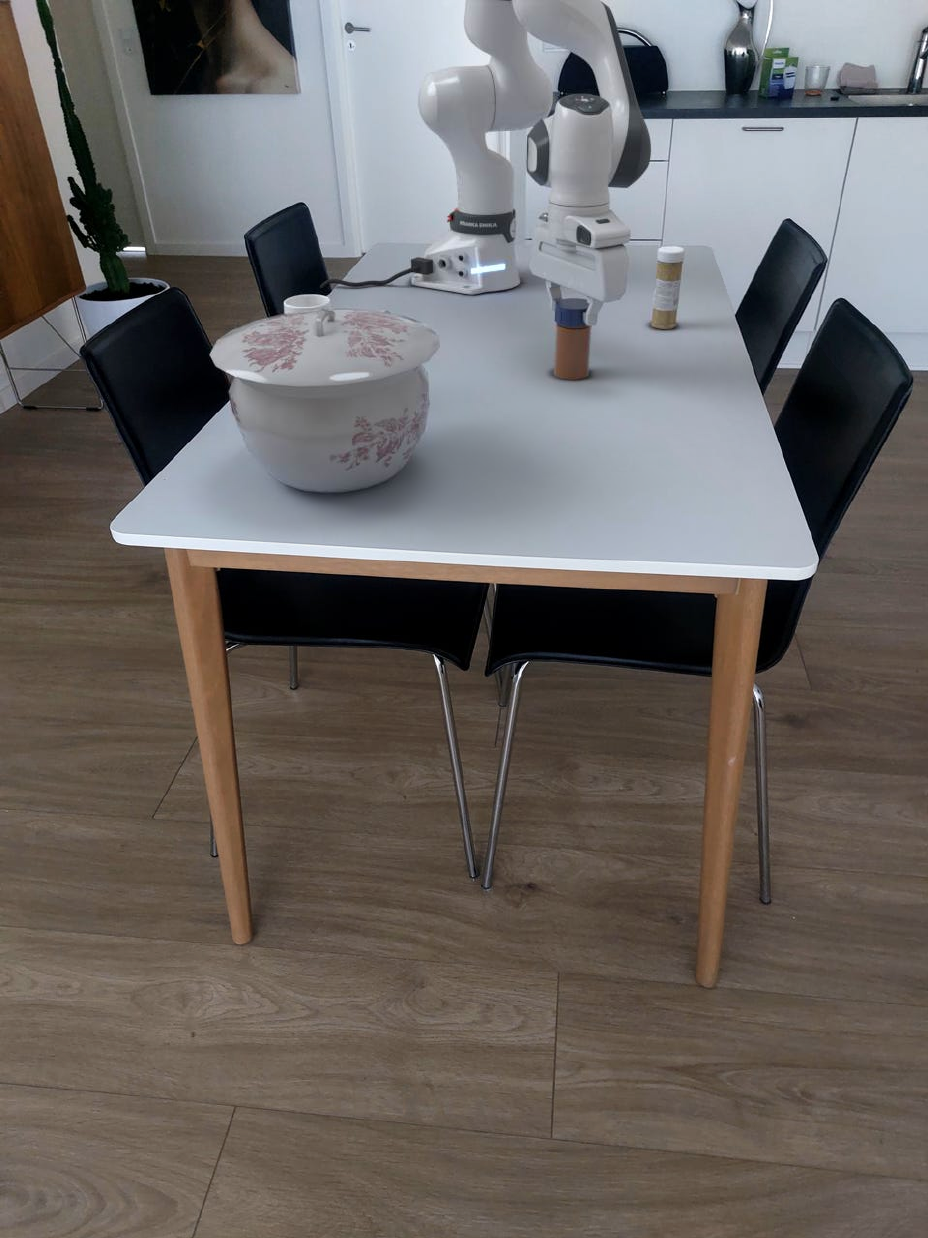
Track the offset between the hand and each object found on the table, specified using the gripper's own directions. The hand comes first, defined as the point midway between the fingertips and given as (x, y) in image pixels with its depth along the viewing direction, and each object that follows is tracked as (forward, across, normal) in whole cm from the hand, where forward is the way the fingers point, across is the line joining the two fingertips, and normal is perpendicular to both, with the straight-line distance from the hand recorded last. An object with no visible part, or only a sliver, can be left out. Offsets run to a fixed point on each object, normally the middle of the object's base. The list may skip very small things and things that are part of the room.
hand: (572, 317), depth 146 cm
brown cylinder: (+9, 0, 0) cm, 9 cm away
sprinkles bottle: (+9, -11, +29) cm, 32 cm away
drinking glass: (+9, -11, -39) cm, 42 cm away
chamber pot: (+9, +13, -46) cm, 49 cm away
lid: (-2, 0, 0) cm, 2 cm away
